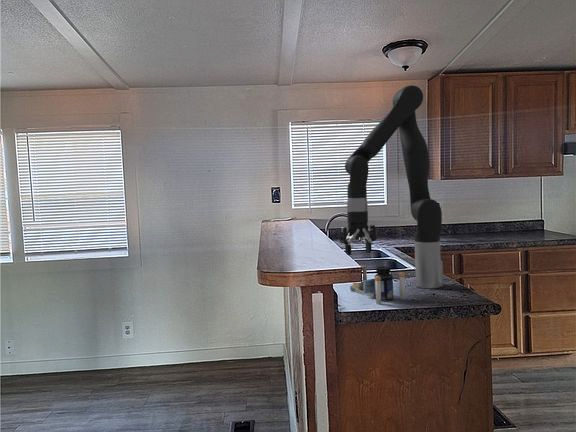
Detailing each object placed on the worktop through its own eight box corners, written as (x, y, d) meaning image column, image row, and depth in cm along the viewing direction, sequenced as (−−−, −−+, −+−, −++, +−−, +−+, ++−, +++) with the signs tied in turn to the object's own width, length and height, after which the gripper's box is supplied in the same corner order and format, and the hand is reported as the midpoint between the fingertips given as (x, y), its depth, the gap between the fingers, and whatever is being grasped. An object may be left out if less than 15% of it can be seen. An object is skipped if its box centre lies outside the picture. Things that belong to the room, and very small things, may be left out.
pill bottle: (391, 296, 158) (389, 265, 157) (395, 301, 152) (394, 268, 151) (373, 297, 157) (372, 266, 157) (377, 302, 151) (376, 269, 151)
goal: (403, 298, 155) (402, 271, 154) (407, 299, 153) (406, 272, 152) (374, 303, 150) (373, 275, 149) (378, 304, 148) (377, 276, 147)
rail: (360, 289, 172) (359, 284, 172) (382, 296, 159) (382, 291, 159) (350, 290, 170) (350, 286, 170) (372, 297, 157) (372, 292, 157)
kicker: (365, 285, 171) (365, 264, 171) (384, 290, 161) (383, 268, 161) (347, 288, 168) (347, 266, 167) (365, 293, 158) (364, 271, 157)
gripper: (367, 209, 172) (368, 251, 173) (335, 211, 166) (336, 254, 167) (379, 209, 166) (380, 253, 166) (346, 211, 160) (347, 256, 160)
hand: (358, 253), depth 167 cm, fingers open, 8 cm apart
